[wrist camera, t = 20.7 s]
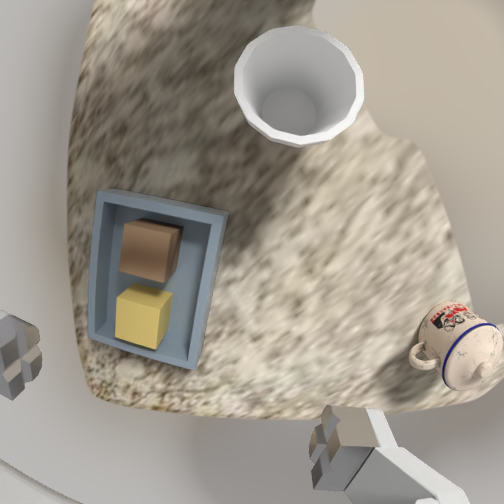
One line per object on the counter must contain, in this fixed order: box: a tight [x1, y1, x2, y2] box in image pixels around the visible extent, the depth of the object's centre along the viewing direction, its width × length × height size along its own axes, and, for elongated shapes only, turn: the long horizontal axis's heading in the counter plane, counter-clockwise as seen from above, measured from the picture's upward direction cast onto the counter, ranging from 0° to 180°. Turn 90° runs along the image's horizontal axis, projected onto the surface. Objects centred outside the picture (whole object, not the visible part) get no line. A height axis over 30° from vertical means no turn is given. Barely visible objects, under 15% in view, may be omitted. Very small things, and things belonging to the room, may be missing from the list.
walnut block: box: [119, 217, 184, 283], centre depth 33 cm, size 5×5×5 cm
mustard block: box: [115, 283, 173, 349], centre depth 35 cm, size 5×5×5 cm
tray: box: [88, 189, 229, 370], centre depth 36 cm, size 18×14×4 cm
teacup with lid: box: [409, 301, 503, 391], centre depth 32 cm, size 12×9×12 cm
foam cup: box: [234, 25, 364, 148], centre depth 27 cm, size 10×9×13 cm
